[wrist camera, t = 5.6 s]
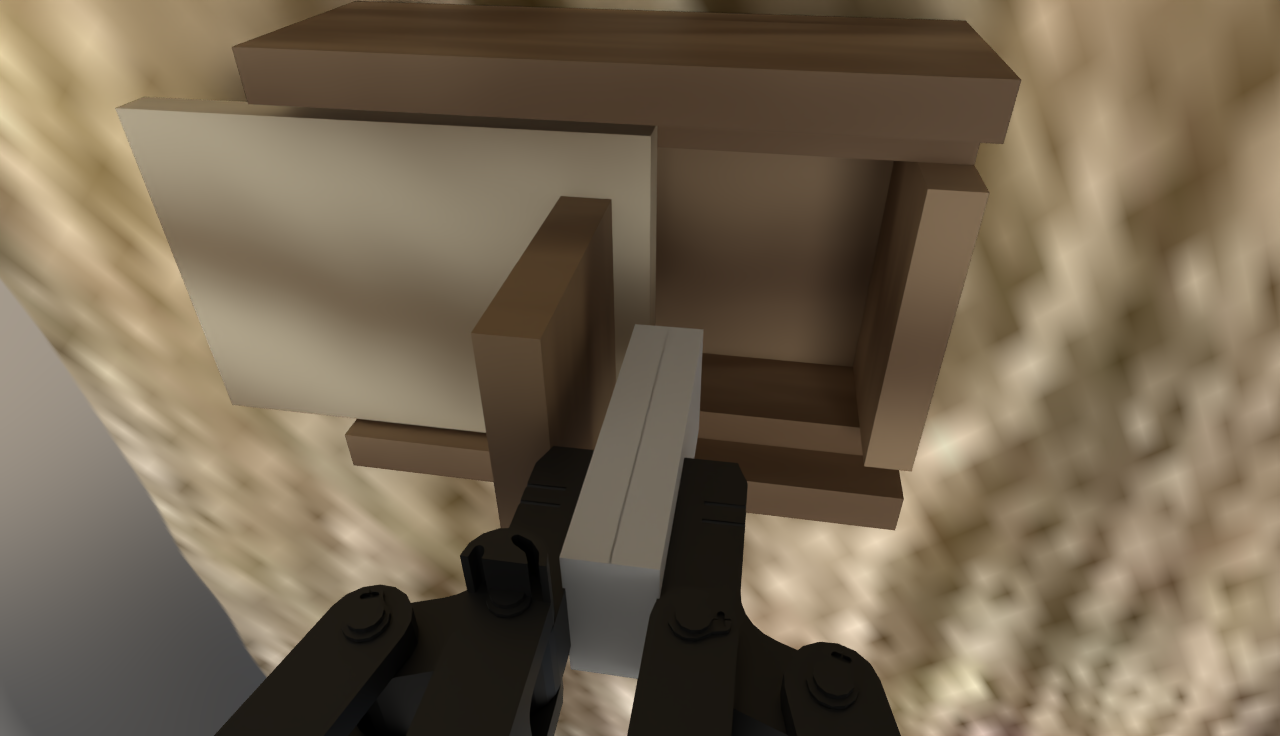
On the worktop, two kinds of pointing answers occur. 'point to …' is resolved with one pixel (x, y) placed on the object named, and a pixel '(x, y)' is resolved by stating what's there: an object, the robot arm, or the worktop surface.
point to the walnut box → (725, 206)
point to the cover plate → (411, 263)
